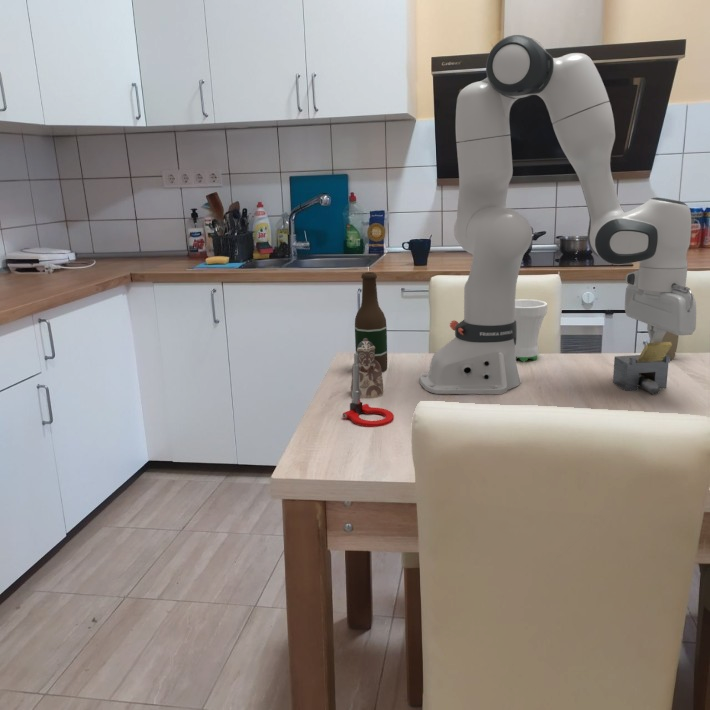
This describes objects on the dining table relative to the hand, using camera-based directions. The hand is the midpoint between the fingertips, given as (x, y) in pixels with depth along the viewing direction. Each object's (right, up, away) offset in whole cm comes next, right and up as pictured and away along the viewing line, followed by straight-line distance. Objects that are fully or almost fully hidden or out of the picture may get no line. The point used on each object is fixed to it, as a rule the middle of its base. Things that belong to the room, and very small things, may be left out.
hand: (655, 346), depth 139 cm
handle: (+15, -3, +27) cm, 31 cm away
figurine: (-59, -10, +9) cm, 61 cm away
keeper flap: (0, -2, 0) cm, 2 cm away
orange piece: (0, -8, +7) cm, 11 cm away
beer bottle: (-58, -6, +27) cm, 64 cm away
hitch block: (0, -8, +8) cm, 11 cm away
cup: (-19, -3, +32) cm, 38 cm away
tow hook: (-59, -15, -6) cm, 61 cm away
